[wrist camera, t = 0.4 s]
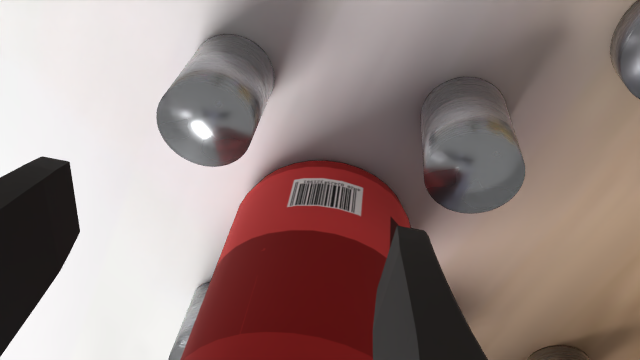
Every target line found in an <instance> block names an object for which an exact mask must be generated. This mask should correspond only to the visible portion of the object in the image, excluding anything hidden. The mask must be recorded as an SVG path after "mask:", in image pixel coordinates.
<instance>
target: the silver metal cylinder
mask: <svg viewBox="0 0 640 360" xmlns="http://www.w3.org/2000/svg"><path fill="white" fill-rule="evenodd" d="M610 55H611V61H612V64H613V67H614V69H615V71H616V73H617V74H618V75H619V77H620V78H621V80H622V81H623V82H624V84H625V85H626V87H627V88H628V89H629V91H630V92H631V93H632V94H633V95H634V96H636V97H637V98H639V99H640V0H637V1H636V2H635V3H634V4H633V5H632V6H631V7H630V8H629V9H628V10H627V11H626V13H625V14H624V15H623V17H622V18H621V20H620V21H619V23H618V25H617V27H616V29H615V31H614V34H613V37H612V40H611V47H610Z"/></svg>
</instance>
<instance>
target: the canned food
mask: <svg viewBox="0 0 640 360" xmlns="http://www.w3.org/2000/svg"><path fill="white" fill-rule="evenodd" d="M397 226H403V227H408V228H410V224H409V219H408V217H407V215H406V213H405V211H404V209H403V207H402V205H401V204H400V202H399V200H398V198H397V196H396V195H395V194H394V193H393V191H392V190H391V189H390V188H389V187H388V186H387V185H386V184H385V183H384V182H382V181H381V180H380V179H378V178H377V177H376V176H374V175H372V174H370V173H368V172H366V171H365V170H363V169H361V168H358V167H354V166H351V165H348V164H345V163H339V162H333V161H306V162H300V163H294V164H291V165H288V166H285V167H283V168H280V169H278V170H276V171H274V172H273V173H271V174H269V175H267V176H266V177H265V178H264V179H263V180H261V181H260V182H259V183H258V184H257V185H256V186H255V187H254V188H253V189H252V190H251V191H250V192H249V193H248V194H247V195H246V197H245V198H244V200H243V201H242V203H241V204H240V206H239V209H238V211H237V214H236V217H235V219H234V222H233V224H232V227H231V229H230V232H229V235H228V237H227V240H226V242H225V245H224V248H223V250H222V253H221V255H220V258H219V261H218V263H217V266H216V268H215V271H214V274H213V276H212V279H211V281H210V284H209V287H208V289H207V292H206V294H205V297H204V299H203V302H202V305H201V307H200V310H199V312H198V315H197V318H196V320H195V323H194V325H193V328H192V331H191V333H190V336H189V338H188V341H187V344H186V346H185V349H184V351H183V354H182V357H181V359H180V360H373V323H374V312H375V303H376V294H377V288H378V284H379V281H380V278H381V275H382V272H383V269H384V265H385V262H386V259H387V256H388V253H389V249H390V246H391V243H392V240H393V237H394V233H395V230H396V227H397Z"/></svg>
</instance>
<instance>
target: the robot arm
mask: <svg viewBox="0 0 640 360" xmlns="http://www.w3.org/2000/svg"><path fill="white" fill-rule="evenodd" d="M79 232H80V228H79V222H78V215H77V208H76V202H75V195H74V189H73V182H72V176H71V169H70V162H68V161H63V160H57V159H52V158H47V157H40V158H38V159H36V160H33V161H31V162H29V163H27V164H25V165H23V166H22V167H20V168H18V169H16V170H14V171H12V172H10V173H8V174H6V175H4V176H3V177H1V178H0V356H1V355H2V353H3V352H4V351H5V349H6V348H7V346H8V345H9V344H10V342H11V341H12V339H13V338H14V336H15V335H16V334H17V332H18V331H19V329H20V328H21V326H22V325H23V324H24V322H25V321H26V319H27V318H28V316H29V315H30V314H31V312H32V311H33V309H34V308H35V307H36V305H37V304H38V302H39V301H40V299H41V298H42V296H43V295H44V294H45V292H46V291H47V289H48V288H49V286H50V285H51V283H52V282H53V281H54V279H55V278H56V276H57V275H58V273H59V272H60V270H61V268H62V266H63V264H64V262H65V261H66V259H67V257H68V255H69V253H70V251H71V249H72V247H73V245H74V243H75V241H76V239H77V237H78V235H79ZM373 360H488V359H487V357H486V355H485V354H484V352H483V350H482V349H481V347H480V345H479V343H478V342H477V340H476V338H475V336H474V335H473V333H472V331H471V329H470V327H469V325H468V324H467V322H466V320H465V318H464V316H463V314H462V312H461V310H460V308H459V306H458V304H457V302H456V300H455V298H454V296H453V294H452V292H451V290H450V287H449V285H448V283H447V281H446V279H445V276H444V274H443V272H442V269H441V267H440V265H439V262H438V260H437V257H436V255H435V252H434V250H433V247H432V244H431V242H430V239H429V236H428V235H427V233H426V232H425V231H423V230H418V229H413V228H408V227H403V226H397V227H396V230H395V233H394V237H393V240H392V243H391V246H390V249H389V253H388V256H387V259H386V262H385V265H384V269H383V272H382V275H381V278H380V281H379V284H378V288H377V294H376V303H375V312H374V323H373Z"/></svg>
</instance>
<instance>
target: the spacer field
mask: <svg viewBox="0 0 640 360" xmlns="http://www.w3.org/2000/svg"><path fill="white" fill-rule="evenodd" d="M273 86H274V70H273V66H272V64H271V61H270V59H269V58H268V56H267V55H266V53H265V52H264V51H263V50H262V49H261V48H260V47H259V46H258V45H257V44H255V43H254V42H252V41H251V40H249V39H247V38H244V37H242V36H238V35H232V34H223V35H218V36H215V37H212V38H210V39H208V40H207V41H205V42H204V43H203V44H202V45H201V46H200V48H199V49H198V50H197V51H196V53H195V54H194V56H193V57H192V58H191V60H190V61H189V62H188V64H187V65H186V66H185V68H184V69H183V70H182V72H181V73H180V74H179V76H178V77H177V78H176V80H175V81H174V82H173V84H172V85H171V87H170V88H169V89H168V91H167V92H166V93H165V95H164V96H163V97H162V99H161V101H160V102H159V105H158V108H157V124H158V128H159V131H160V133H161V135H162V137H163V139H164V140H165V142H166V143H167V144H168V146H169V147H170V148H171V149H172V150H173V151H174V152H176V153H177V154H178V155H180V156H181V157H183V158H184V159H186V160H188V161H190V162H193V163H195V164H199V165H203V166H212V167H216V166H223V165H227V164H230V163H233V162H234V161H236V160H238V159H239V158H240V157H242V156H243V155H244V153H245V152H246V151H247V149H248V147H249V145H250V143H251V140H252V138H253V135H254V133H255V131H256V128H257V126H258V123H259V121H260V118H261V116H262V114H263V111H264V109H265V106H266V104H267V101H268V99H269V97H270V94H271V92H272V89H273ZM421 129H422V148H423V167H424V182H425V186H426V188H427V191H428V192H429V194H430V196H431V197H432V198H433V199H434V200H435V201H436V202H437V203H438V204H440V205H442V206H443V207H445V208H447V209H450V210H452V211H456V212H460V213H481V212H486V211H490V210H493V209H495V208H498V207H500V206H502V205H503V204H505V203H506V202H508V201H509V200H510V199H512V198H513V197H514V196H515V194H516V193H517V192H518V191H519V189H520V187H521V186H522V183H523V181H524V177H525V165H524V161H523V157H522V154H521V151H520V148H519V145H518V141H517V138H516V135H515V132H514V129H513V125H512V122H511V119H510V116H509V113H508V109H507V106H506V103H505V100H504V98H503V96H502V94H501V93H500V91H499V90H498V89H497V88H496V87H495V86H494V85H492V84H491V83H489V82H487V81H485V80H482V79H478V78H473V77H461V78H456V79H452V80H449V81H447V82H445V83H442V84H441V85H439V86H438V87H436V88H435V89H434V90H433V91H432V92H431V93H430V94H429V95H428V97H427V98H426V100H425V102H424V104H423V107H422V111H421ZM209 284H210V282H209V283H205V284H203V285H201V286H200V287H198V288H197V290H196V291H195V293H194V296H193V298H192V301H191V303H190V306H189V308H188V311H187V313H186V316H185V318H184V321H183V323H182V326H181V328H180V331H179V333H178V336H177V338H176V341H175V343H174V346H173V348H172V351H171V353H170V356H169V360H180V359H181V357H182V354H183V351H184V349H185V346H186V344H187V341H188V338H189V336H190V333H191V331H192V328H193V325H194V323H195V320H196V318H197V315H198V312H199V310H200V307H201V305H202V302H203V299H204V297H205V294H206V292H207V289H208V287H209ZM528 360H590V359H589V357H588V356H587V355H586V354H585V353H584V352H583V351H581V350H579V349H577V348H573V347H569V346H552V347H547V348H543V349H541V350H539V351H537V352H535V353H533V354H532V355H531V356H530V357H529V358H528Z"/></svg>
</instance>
